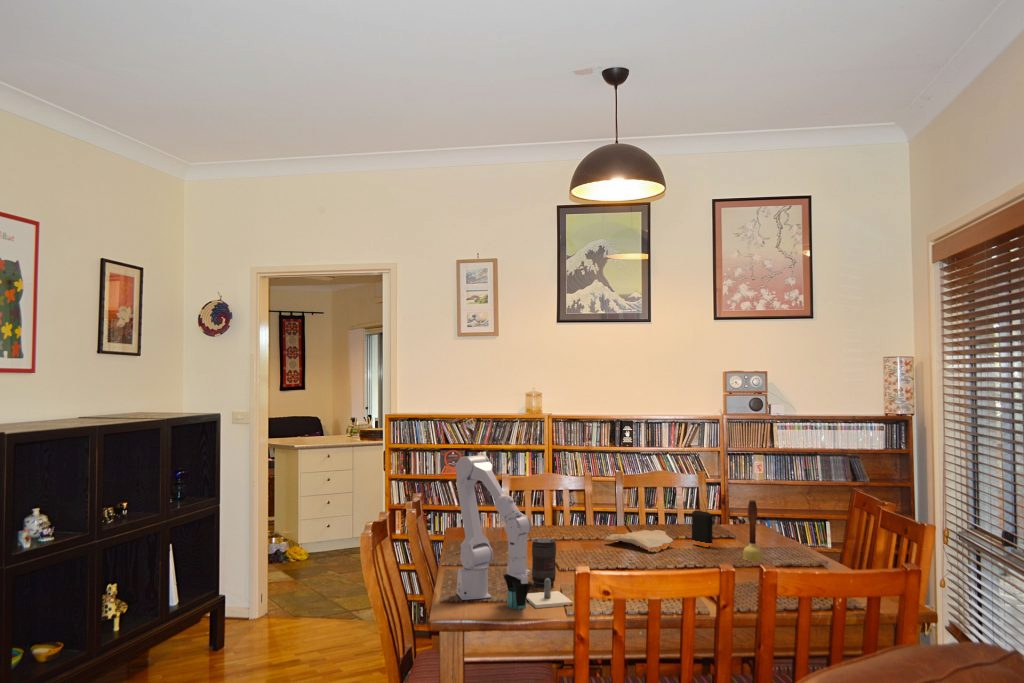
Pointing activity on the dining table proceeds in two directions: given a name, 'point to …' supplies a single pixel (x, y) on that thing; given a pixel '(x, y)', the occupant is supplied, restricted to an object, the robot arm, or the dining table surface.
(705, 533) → the carrying case or bag
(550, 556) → the camera lens
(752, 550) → the handbell
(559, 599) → the white base with peg
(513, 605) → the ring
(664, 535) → the beige curved shard
